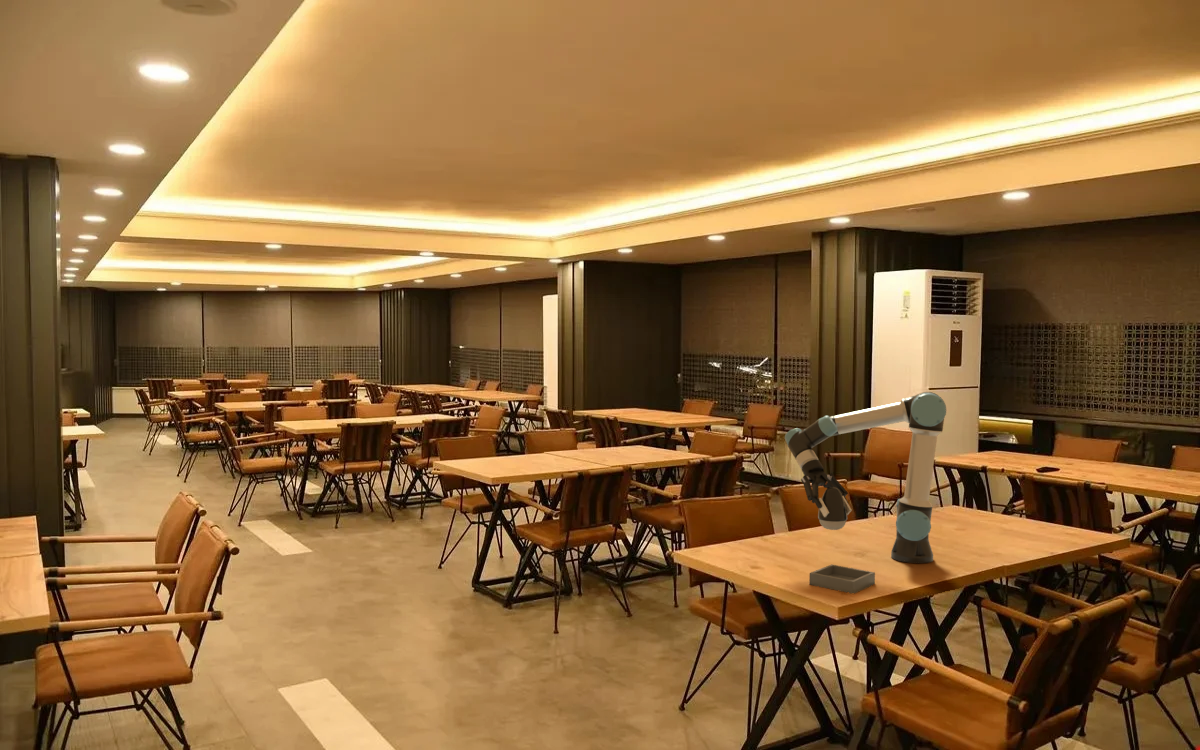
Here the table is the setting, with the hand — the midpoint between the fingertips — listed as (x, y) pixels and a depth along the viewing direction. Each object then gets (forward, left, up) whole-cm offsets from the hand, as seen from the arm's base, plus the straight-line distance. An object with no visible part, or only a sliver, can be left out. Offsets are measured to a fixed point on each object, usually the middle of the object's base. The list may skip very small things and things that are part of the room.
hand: (838, 513), depth 306 cm
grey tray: (+15, +9, -21) cm, 27 cm away
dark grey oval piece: (-1, -3, -6) cm, 7 cm away
